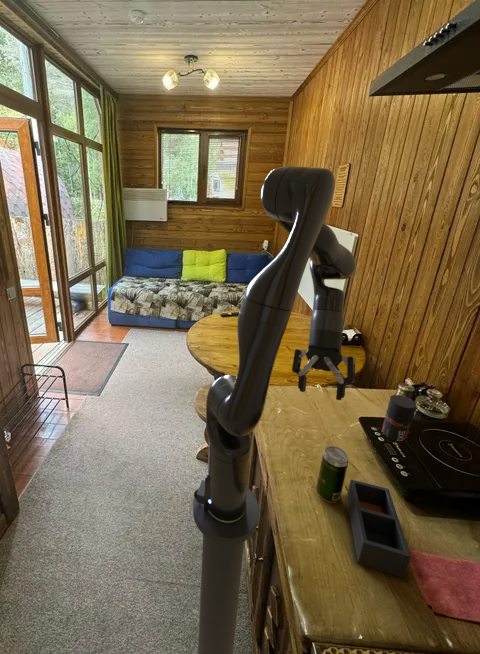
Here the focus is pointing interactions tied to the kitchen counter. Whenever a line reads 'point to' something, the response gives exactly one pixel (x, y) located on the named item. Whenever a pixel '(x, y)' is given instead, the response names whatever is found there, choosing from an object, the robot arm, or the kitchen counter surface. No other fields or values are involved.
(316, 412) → the kitchen counter surface
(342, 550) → the kitchen counter surface
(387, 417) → the deodorant
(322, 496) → the beer can
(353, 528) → the box
